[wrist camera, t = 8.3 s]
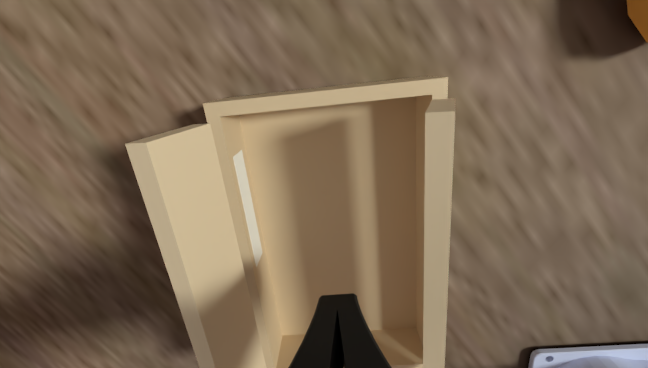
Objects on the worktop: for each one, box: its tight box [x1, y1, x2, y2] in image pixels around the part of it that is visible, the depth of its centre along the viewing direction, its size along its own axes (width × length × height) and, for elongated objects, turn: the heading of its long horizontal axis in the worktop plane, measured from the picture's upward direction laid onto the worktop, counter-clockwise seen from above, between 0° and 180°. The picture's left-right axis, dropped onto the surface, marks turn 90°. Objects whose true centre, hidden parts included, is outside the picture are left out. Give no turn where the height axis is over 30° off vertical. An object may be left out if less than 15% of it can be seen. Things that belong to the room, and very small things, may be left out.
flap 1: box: [125, 123, 266, 368], centre depth 13 cm, size 3×15×1 cm
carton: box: [203, 76, 448, 368], centre depth 17 cm, size 10×16×3 cm, turn 6°
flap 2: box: [423, 98, 455, 368], centre depth 13 cm, size 3×15×1 cm
